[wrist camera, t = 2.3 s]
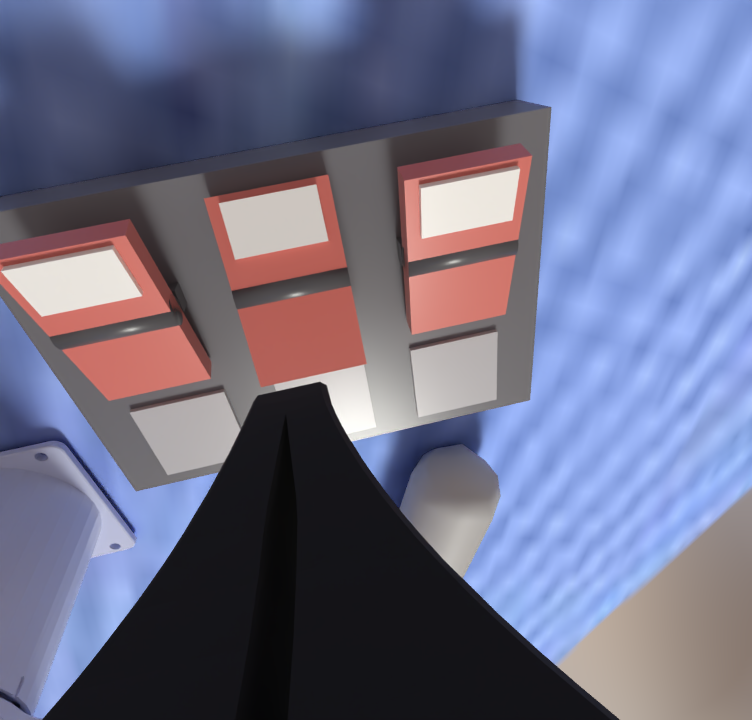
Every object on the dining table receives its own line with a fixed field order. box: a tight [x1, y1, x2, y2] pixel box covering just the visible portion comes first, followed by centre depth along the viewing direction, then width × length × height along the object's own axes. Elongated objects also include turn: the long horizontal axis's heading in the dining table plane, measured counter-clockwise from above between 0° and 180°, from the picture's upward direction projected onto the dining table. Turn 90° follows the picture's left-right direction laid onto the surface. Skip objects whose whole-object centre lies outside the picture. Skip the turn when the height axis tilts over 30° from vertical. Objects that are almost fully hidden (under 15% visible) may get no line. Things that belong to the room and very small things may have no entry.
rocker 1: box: [0, 219, 212, 401], centre depth 14 cm, size 4×6×1 cm, turn 8°
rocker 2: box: [204, 175, 367, 387], centre depth 14 cm, size 4×6×1 cm, turn 8°
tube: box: [400, 444, 500, 578], centre depth 30 cm, size 5×5×25 cm
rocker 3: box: [397, 143, 532, 335], centre depth 15 cm, size 4×6×1 cm, turn 8°
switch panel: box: [0, 100, 551, 491], centre depth 18 cm, size 18×12×3 cm, turn 98°
